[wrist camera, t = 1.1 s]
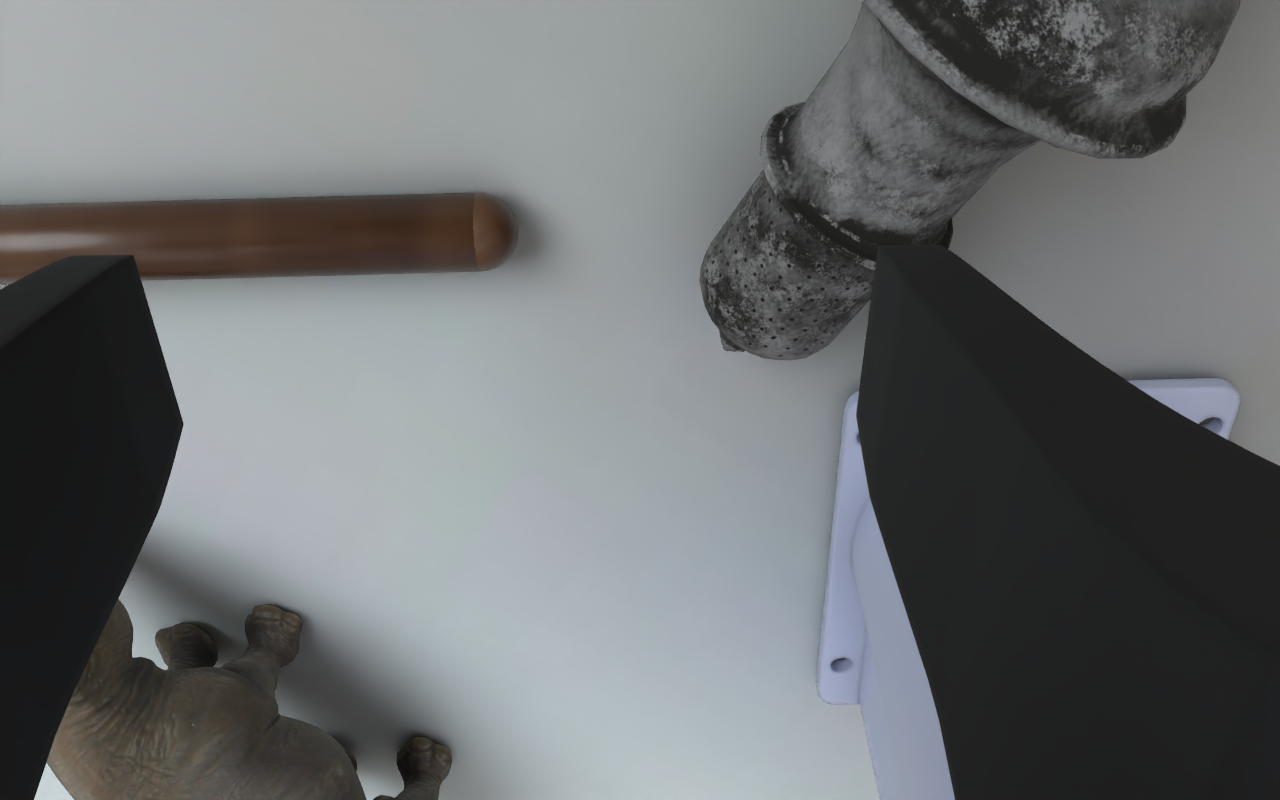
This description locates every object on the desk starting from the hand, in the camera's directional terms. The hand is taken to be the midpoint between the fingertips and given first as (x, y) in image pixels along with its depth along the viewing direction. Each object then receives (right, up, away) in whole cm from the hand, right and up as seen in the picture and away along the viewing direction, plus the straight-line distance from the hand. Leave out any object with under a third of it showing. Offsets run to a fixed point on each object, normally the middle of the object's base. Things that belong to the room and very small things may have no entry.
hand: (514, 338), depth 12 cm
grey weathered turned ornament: (+8, +7, +2) cm, 11 cm away
